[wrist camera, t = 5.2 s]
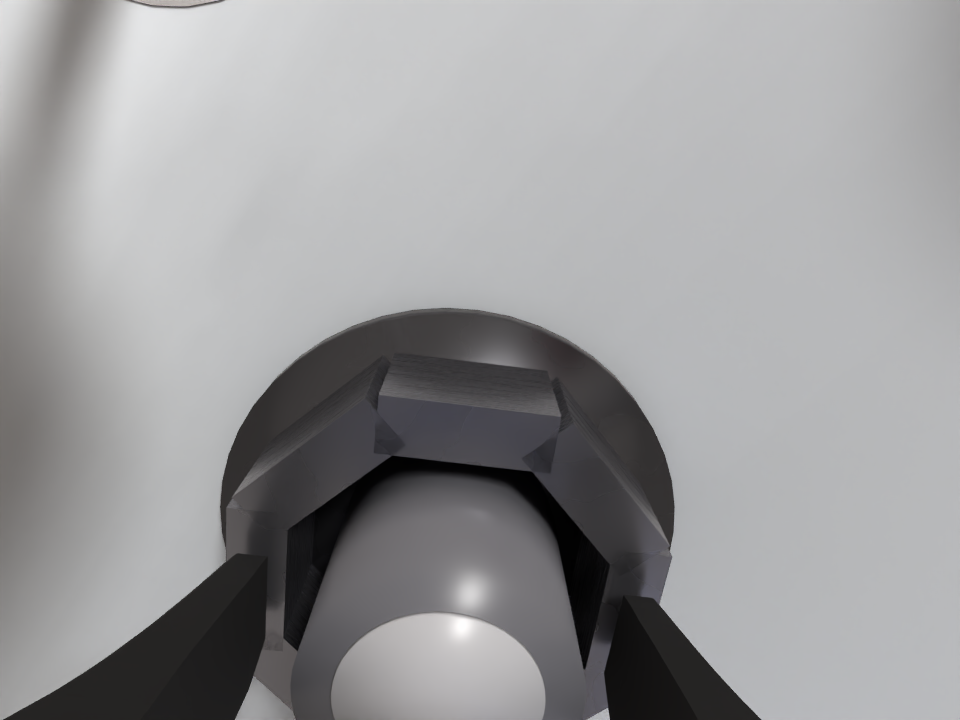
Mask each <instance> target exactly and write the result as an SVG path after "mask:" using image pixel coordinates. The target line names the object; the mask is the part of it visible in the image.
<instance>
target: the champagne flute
mask: <svg viewBox="0 0 960 720" xmlns="http://www.w3.org/2000/svg"><path fill="white" fill-rule="evenodd" d="M134 1H137V2H141V3H145V4H149V5H160V6H192V5H197V4H202V3H208V2H213V1H218V0H134Z"/></svg>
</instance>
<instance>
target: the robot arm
mask: <svg viewBox="0 0 960 720" xmlns="http://www.w3.org/2000/svg"><path fill="white" fill-rule="evenodd" d="M267 566H268V556H259V555H250V554H240V553H237V554H235V555H234V556H232V557H231V558H230V559H229V560H228V561H226V562H225V563H224V564H223V565H222V566H221V567H219V568H218V569H217V570H216V571H215V572H214V573H213V574H211V575H210V576H209V577H208V578H207V579H206V580H204V581H203V582H202V583H201V584H200V585H199V586H198V587H196V588H195V589H194V590H193V591H192V592H190V593H189V594H188V595H187V596H186V597H185V598H183V599H182V600H181V601H180V602H178V603H177V604H176V605H175V606H174V607H172V608H171V609H170V610H169V611H167V612H166V613H165V614H164V615H162V616H161V617H160V618H159V619H158V620H156V621H155V622H154V623H152V624H151V625H150V626H149V627H147V628H146V629H145V630H143V631H142V632H141V633H139V634H138V635H137V636H135V637H134V638H132V639H131V640H130V641H128V642H127V643H126V644H124V645H123V646H122V647H120V648H119V649H118V650H116V651H115V652H114V653H112V654H111V655H109V656H108V657H106V658H105V659H104V660H102V661H101V662H99V663H98V664H96V665H95V666H93V667H92V668H90V669H89V670H87V671H86V672H84V673H83V674H81V675H80V676H78V677H76V678H75V679H73V680H72V681H70V682H68V683H67V684H65V685H64V686H62V687H60V688H59V689H57V690H55V691H54V692H52V693H50V694H49V695H47V696H45V697H43V698H42V699H40V700H38V701H36V702H34V703H33V704H31V705H29V706H27V707H25V708H23V709H22V710H20V711H18V712H16V713H14V714H13V715H11V716H9V717H7V718H5V719H4V720H235V718H236V716H237V714H238V711H239V709H240V707H241V705H242V703H243V701H244V698H245V696H246V694H247V692H248V690H249V687H250V684H251V681H252V678H253V675H254V672H255V669H256V666H257V663H258V660H259V657H260V654H261V651H262V648H263V645H264V642H265V634H266V600H267ZM604 678H605V686H606V694H607V702H608V709H609V716H610V720H761V719H760V718H759V717H758V716H757V715H756V714H755V713H754V712H753V711H752V710H751V709H750V708H749V707H748V706H747V705H746V704H745V703H744V702H743V701H742V700H741V699H740V698H739V697H738V695H737V694H736V693H735V692H734V691H733V690H732V689H731V688H730V687H729V686H728V685H727V684H726V683H725V681H724V680H723V679H722V678H721V677H720V676H719V675H718V674H717V673H716V671H715V670H714V669H713V668H712V667H711V666H710V665H709V663H708V662H707V661H706V660H705V659H704V658H703V657H702V655H701V654H700V653H699V652H698V651H697V650H696V648H695V647H694V646H693V645H692V644H691V643H690V641H689V640H688V639H687V638H686V637H685V635H684V634H683V633H682V632H681V631H680V629H679V628H678V627H677V626H676V625H675V623H674V622H673V621H672V620H671V619H670V617H669V616H668V615H667V614H666V613H665V611H664V610H663V609H662V608H661V607H660V605H659V604H658V603H657V602H656V601H655V600H654V599H653V598H650V597H641V596H631V595H623V599H622V603H621V607H620V611H619V615H618V619H617V623H616V627H615V631H614V635H613V639H612V643H611V647H610V651H609V655H608V659H607V663H606V667H605V671H604Z"/></svg>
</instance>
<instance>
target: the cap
mask: <svg viewBox="0 0 960 720" xmlns="http://www.w3.org/2000/svg"><path fill="white" fill-rule="evenodd" d="M290 689H291V702H292V707H293V711H294V715H295V718H296V720H581V719H582V716H583V713H584V708H585V701H586V680H585V675H584V670H583V665H582V660H581V655H580V650H579V645H578V640H577V635H576V630H575V625H574V620H573V616H572V611H571V606H570V601H569V596H568V591H567V586H566V581H565V576H564V571H563V566H562V562H561V557H560V552H559V547H558V542H557V537H556V532H555V527H554V522H553V517H552V513H551V508H550V504H549V501H548V498H547V495H546V493H545V491H544V489H543V487H542V485H541V483H540V482H539V480H538V479H537V478H536V476H535V475H534V474H533V472H531V471H523V470H514V469H505V468H497V467H488V466H480V465H471V464H462V463H454V462H445V461H436V460H428V459H419V458H411V457H402V456H393V455H392V456H391V457H389V458H388V459H386V460H385V461H384V462H382V463H381V464H379V465H378V466H377V467H375V468H374V469H372V470H371V471H370V472H368V473H367V474H365V475H364V476H363V477H362V478H361V480H360V481H359V482H358V484H357V486H356V488H355V490H354V492H353V494H352V497H351V500H350V503H349V506H348V508H347V511H346V514H345V517H344V520H343V523H342V526H341V529H340V531H339V534H338V537H337V540H336V543H335V546H334V549H333V552H332V554H331V557H330V560H329V563H328V566H327V569H326V572H325V575H324V577H323V580H322V583H321V586H320V589H319V592H318V595H317V598H316V600H315V603H314V606H313V609H312V612H311V615H310V618H309V621H308V624H307V626H306V629H305V632H304V635H303V638H302V641H301V644H300V647H299V649H298V652H297V655H296V659H295V662H294V665H293V668H292V675H291V683H290Z"/></svg>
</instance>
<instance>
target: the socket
mask: <svg viewBox="0 0 960 720" xmlns="http://www.w3.org/2000/svg"><path fill="white" fill-rule="evenodd" d="M392 455H393V456H402V457H411V458H419V459H428V460H436V461H445V462H454V463H462V464H471V465H480V466H488V467H497V468H505V469H514V470H523V471H531V472H533V474H534V475H535V476H536V478H537V479H538V480H539V482H540V483H541V485H542V487H543V489H544V491H545V493H546V495H547V498H548V501H549V504H550V508H551V513H552V517H553V522H554V527H555V532H556V537H557V542H558V547H559V552H560V557H561V562H562V566H563V571H564V576H565V581H566V586H567V591H568V596H569V601H570V606H571V611H572V616H573V620H574V625H575V630H576V635H577V640H578V645H579V650H580V655H581V660H582V665H583V670H584V675H585V680H586V701H585V708H584V713H583V716H582V719H581V720H586V719H588V718H590V717H592V716H594V715H595V714H597V713H599V712H601V711H602V710H604V709H606V708H608V702H607V694H606V686H605V678H604V671H605V667H606V663H607V659H608V655H609V651H610V647H611V643H612V639H613V635H614V631H615V627H616V623H617V619H618V615H619V611H620V607H621V603H622V599H623V595H631V596H641V597H650V598H653V599H654V600H655V601H656V602H657V603H658V604H659V603H660V600H661V596H662V592H663V589H664V585H665V581H666V578H667V574H668V570H669V567H670V563H671V559H672V556H671V553H670V547H671V542H672V537H673V530H674V498H673V489H672V480H671V476H670V473H669V469H668V465H667V462H666V458H665V454H664V452H663V450H662V448H661V445H660V443H659V441H658V439H657V436H656V434H655V432H654V430H653V428H652V426H651V425H650V423H649V421H648V420H647V418H646V417H645V415H644V413H643V412H642V410H641V409H640V407H639V406H638V404H637V402H636V401H635V399H634V398H633V396H632V395H631V394H630V393H629V392H628V391H627V389H626V388H625V387H624V386H623V385H622V384H621V382H620V381H619V380H618V379H617V378H616V377H615V375H613V374H612V373H611V372H610V371H609V370H608V369H607V368H605V367H604V366H603V365H602V364H601V363H600V362H599V361H597V360H596V359H595V358H594V357H593V356H591V355H590V354H588V353H587V352H585V351H584V350H582V349H581V348H579V347H578V346H576V345H575V344H573V343H572V342H570V341H569V340H567V339H565V338H563V337H561V336H559V335H557V334H555V333H553V332H551V331H549V330H546V329H544V328H542V327H540V326H538V325H535V324H532V323H529V322H526V321H522V320H519V319H516V318H513V317H510V316H506V315H501V314H496V313H490V312H485V311H480V310H469V309H453V308H438V309H422V310H411V311H406V312H401V313H396V314H391V315H385V316H381V317H378V318H375V319H372V320H369V321H366V322H363V323H360V324H357V325H354V326H352V327H349V328H347V329H345V330H343V331H341V332H339V333H337V334H335V335H333V336H331V337H329V338H327V339H325V340H323V341H322V342H320V343H319V344H317V345H316V346H315V347H313V348H312V349H310V350H309V351H307V352H306V353H304V354H303V355H301V356H300V357H299V358H298V359H296V360H295V361H294V362H293V363H292V364H291V365H290V366H289V367H288V368H286V369H285V370H284V371H283V372H282V373H281V374H280V375H279V376H278V377H277V378H276V379H275V380H274V382H273V383H272V384H271V385H270V386H269V388H268V389H267V390H266V391H265V392H264V394H263V395H262V396H261V397H260V398H259V400H258V401H257V402H256V403H255V404H254V406H253V407H252V409H251V411H250V412H249V414H248V416H247V417H246V419H245V421H244V422H243V424H242V426H241V427H240V429H239V431H238V433H237V436H236V438H235V441H234V443H233V446H232V448H231V450H230V453H229V455H228V460H227V464H226V468H225V472H224V476H223V481H222V493H221V506H220V508H221V522H222V533H223V538H224V542H225V547H226V561H228V560H229V559H230V558H231V557H232V556H234V555H235V554H237V553H240V554H250V555H259V556H268V566H267V600H266V634H265V642H264V645H263V648H262V651H261V654H260V657H259V660H258V663H257V666H256V669H255V672H254V675H253V676H255V677H256V678H257V679H258V680H259V681H260V682H261V683H262V684H264V685H265V686H266V687H267V688H268V689H269V690H270V691H271V692H273V693H274V694H275V695H276V696H277V697H278V698H279V699H281V700H282V701H283V702H284V703H285V704H286V705H287V706H288V707H290V708H291V709H292V710H293V707H292V702H291V689H290V683H291V675H292V668H293V665H294V662H295V659H296V655H297V652H298V649H299V647H300V644H301V641H302V638H303V635H304V632H305V629H306V626H307V624H308V621H309V618H310V615H311V612H312V609H313V606H314V603H315V600H316V598H317V595H318V592H319V589H320V586H321V583H322V580H323V577H324V575H325V572H326V569H327V566H328V563H329V560H330V557H331V554H332V552H333V549H334V546H335V543H336V540H337V537H338V534H339V531H340V529H341V526H342V523H343V520H344V517H345V514H346V511H347V508H348V506H349V503H350V500H351V497H352V494H353V492H354V490H355V488H356V486H357V484H358V482H359V481H360V480H361V478H362V477H363V476H364V475H365V474H367V473H368V472H370V471H371V470H372V469H374V468H375V467H377V466H378V465H379V464H381V463H382V462H384V461H385V460H386V459H388V458H389V457H391V456H392Z"/></svg>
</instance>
